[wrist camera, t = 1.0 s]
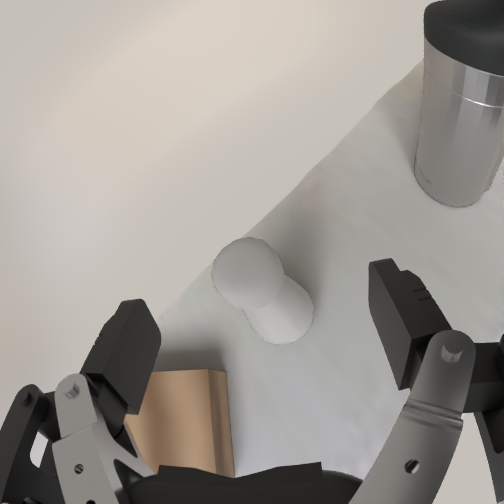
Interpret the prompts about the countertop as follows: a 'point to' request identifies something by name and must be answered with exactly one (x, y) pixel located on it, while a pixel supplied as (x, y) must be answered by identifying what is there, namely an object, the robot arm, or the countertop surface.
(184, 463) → the wooden block
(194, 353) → the countertop surface
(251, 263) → the salt shaker
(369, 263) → the robot arm
